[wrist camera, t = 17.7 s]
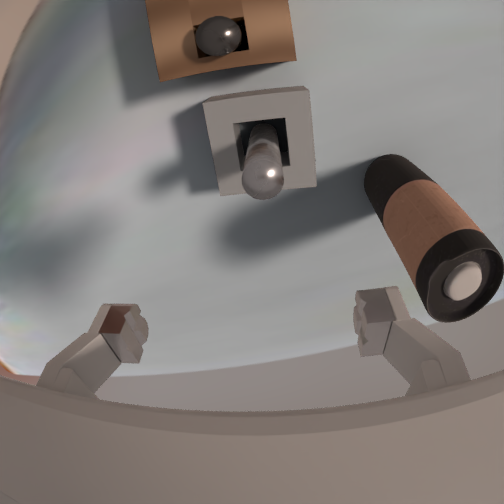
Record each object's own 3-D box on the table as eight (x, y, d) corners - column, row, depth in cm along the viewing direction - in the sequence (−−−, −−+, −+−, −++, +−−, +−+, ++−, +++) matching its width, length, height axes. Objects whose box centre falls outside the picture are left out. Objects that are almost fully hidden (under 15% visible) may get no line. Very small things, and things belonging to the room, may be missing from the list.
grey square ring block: (211, 96, 31) (202, 103, 27) (303, 86, 30) (309, 90, 26) (226, 178, 37) (220, 196, 33) (311, 170, 36) (316, 186, 31)
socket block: (162, -31, 22) (138, -46, 16) (272, -51, 20) (273, -74, 15) (180, 77, 30) (160, 82, 24) (291, 60, 28) (296, 60, 23)
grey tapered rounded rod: (248, 124, 33) (238, 163, 21) (275, 121, 32) (281, 158, 21) (252, 149, 34) (244, 201, 23) (278, 146, 34) (285, 197, 23)
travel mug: (421, 198, 36) (499, 305, 20) (369, 215, 38) (424, 335, 22) (411, 144, 32) (510, 232, 16) (354, 162, 35) (422, 266, 18)
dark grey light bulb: (210, 29, 26) (192, 20, 19) (244, 23, 26) (236, 12, 19) (215, 59, 28) (199, 59, 22) (249, 54, 28) (243, 52, 21)
